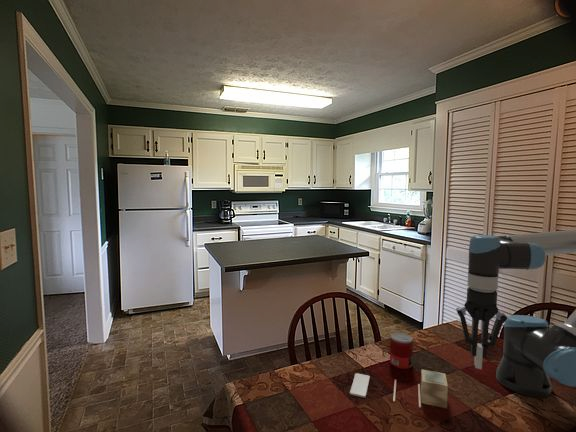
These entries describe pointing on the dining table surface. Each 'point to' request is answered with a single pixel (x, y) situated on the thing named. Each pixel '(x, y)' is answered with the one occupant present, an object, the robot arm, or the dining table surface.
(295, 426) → the dining table surface
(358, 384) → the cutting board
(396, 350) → the canned food
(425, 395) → the tan cube
